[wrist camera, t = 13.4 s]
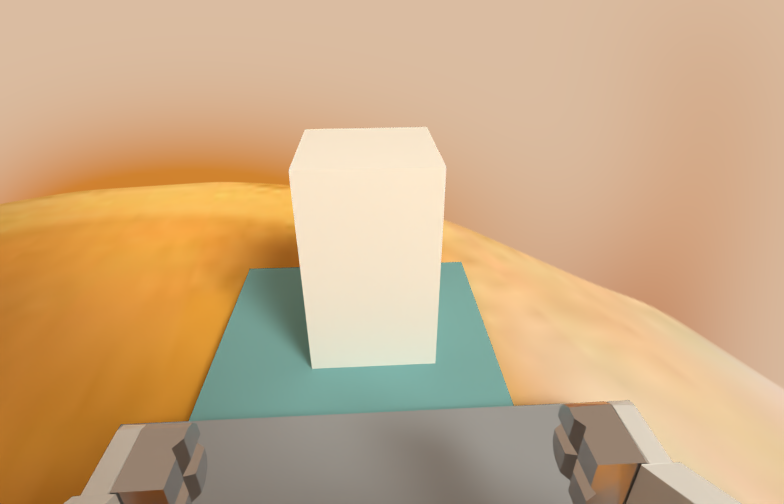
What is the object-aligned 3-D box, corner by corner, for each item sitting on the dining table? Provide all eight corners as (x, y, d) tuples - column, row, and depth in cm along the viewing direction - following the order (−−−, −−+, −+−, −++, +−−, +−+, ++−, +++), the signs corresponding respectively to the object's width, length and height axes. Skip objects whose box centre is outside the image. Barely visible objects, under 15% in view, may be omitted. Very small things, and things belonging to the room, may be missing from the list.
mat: (188, 445, 20) (184, 432, 19) (251, 279, 31) (249, 268, 31) (515, 429, 20) (517, 416, 20) (460, 272, 32) (461, 262, 31)
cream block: (312, 368, 22) (288, 170, 18) (321, 297, 28) (305, 129, 23) (435, 363, 23) (446, 166, 18) (421, 293, 28) (426, 127, 23)
